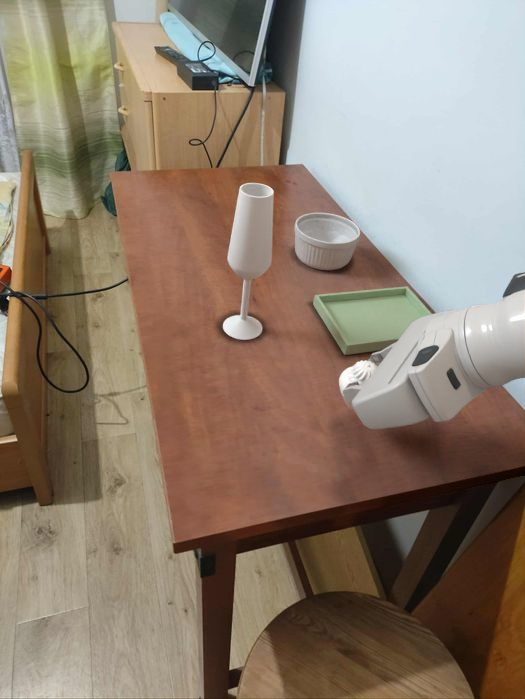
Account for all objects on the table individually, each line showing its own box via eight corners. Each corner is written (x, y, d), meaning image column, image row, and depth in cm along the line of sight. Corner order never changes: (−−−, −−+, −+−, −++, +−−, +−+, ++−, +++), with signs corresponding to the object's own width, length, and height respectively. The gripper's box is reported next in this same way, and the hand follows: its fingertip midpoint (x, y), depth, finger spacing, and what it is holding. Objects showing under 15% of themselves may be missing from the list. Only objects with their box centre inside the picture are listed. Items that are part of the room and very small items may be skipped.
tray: (404, 295, 98) (407, 286, 97) (444, 341, 88) (448, 332, 87) (312, 304, 93) (314, 294, 91) (344, 355, 83) (347, 345, 81)
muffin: (328, 387, 70) (338, 349, 65) (370, 385, 71) (383, 347, 66) (341, 422, 65) (353, 383, 61) (386, 418, 66) (400, 380, 62)
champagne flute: (264, 317, 88) (282, 183, 72) (260, 342, 83) (279, 203, 67) (225, 312, 88) (235, 177, 72) (219, 336, 83) (229, 196, 67)
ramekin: (277, 250, 106) (281, 219, 102) (322, 236, 113) (328, 206, 109) (321, 281, 99) (327, 249, 94) (366, 263, 106) (374, 233, 101)
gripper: (473, 287, 62) (380, 319, 72) (414, 378, 48) (309, 402, 58) (495, 330, 63) (401, 356, 73) (444, 431, 49) (336, 446, 59)
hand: (359, 377), depth 65 cm, fingers closed on muffin, 6 cm apart
